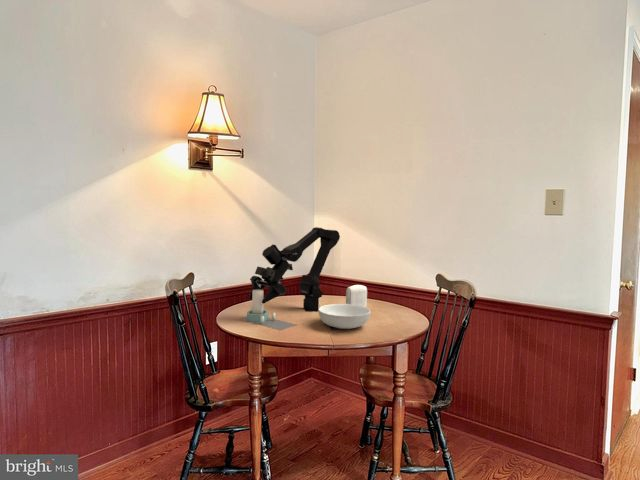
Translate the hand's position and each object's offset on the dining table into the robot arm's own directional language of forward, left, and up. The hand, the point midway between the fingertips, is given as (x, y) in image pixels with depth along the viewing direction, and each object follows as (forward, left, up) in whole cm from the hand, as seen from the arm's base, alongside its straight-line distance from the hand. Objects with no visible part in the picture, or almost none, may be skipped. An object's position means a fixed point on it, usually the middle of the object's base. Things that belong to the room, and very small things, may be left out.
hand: (255, 301), depth 181 cm
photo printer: (-44, -16, -9) cm, 47 cm away
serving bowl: (-36, +6, -9) cm, 37 cm away
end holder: (-1, -1, -8) cm, 8 cm away
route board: (-5, +3, -8) cm, 10 cm away
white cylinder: (-1, -1, -8) cm, 8 cm away
